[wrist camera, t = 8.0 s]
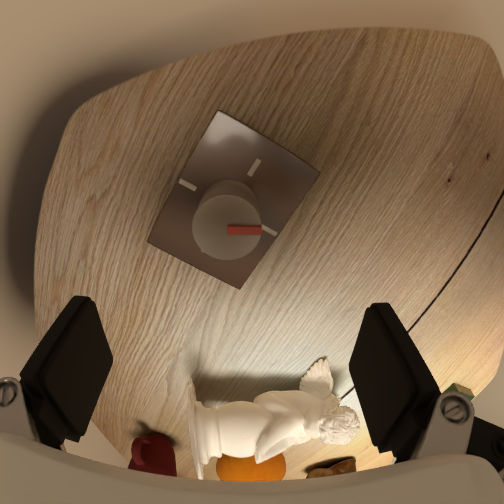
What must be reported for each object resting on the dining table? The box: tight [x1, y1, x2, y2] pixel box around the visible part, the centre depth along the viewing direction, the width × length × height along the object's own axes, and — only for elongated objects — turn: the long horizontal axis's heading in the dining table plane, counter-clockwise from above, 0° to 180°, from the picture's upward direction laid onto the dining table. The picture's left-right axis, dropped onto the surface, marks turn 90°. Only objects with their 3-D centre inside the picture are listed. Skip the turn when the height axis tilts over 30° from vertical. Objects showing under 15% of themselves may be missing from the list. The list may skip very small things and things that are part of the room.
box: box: [442, 383, 475, 401], centre depth 41 cm, size 10×9×4 cm
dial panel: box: [147, 110, 321, 290], centre depth 24 cm, size 12×9×3 cm
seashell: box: [306, 459, 356, 479], centre depth 46 cm, size 11×9×8 cm
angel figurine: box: [187, 359, 360, 480], centre depth 30 cm, size 14×20×12 cm
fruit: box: [216, 453, 286, 481], centre depth 39 cm, size 12×12×10 cm
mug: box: [128, 434, 177, 477], centre depth 37 cm, size 11×8×10 cm
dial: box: [192, 179, 262, 260], centre depth 20 cm, size 4×4×5 cm
